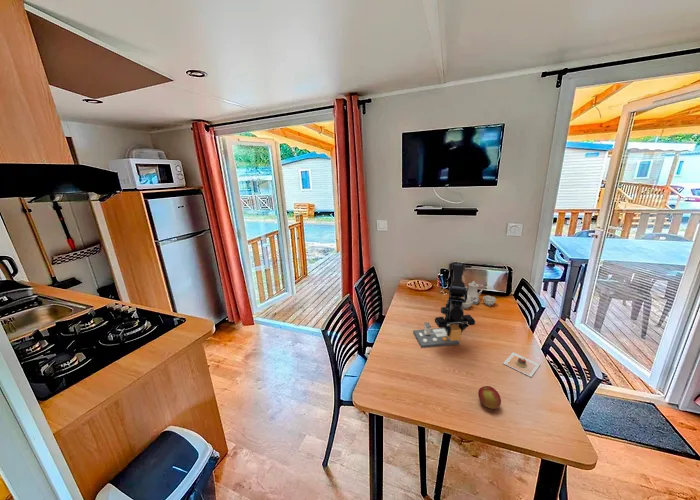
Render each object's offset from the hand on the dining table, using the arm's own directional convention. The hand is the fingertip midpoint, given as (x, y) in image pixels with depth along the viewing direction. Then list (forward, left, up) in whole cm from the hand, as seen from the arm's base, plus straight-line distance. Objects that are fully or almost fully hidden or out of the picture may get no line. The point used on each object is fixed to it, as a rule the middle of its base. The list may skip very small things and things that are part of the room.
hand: (453, 335), depth 137 cm
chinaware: (-37, -45, -9) cm, 59 cm away
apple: (+1, +34, -9) cm, 35 cm away
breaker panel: (+4, -11, -9) cm, 15 cm away
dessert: (-28, +14, -10) cm, 33 cm away
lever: (+8, -14, -7) cm, 17 cm away
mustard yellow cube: (0, 0, -1) cm, 1 cm away
